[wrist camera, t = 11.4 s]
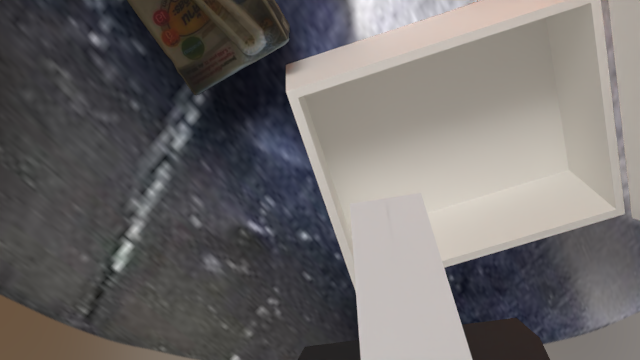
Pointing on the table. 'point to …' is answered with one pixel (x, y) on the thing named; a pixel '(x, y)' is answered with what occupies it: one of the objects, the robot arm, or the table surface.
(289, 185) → the table surface
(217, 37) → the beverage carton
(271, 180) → the table surface
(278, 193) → the table surface
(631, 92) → the mailer lid
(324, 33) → the table surface
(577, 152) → the box
